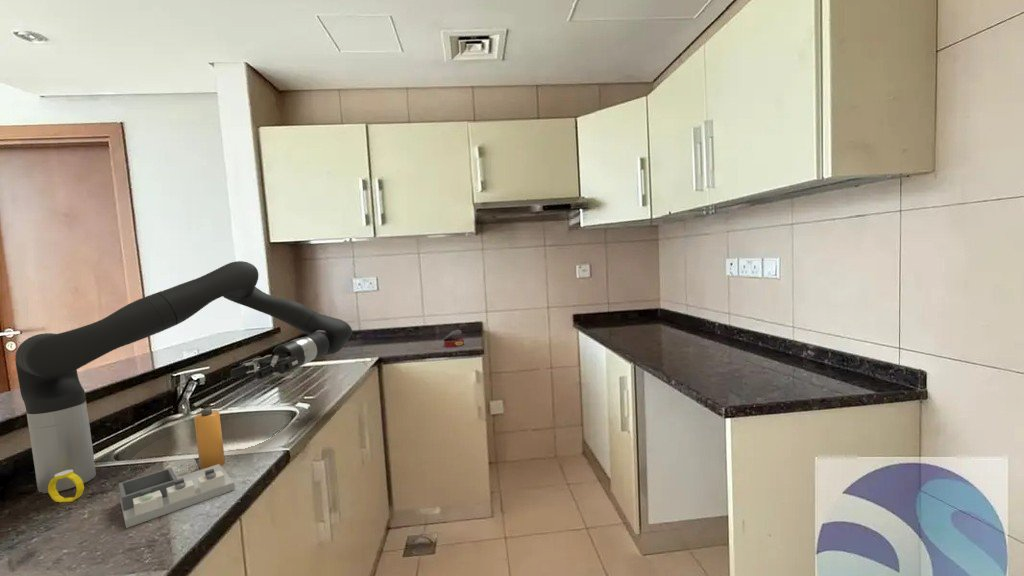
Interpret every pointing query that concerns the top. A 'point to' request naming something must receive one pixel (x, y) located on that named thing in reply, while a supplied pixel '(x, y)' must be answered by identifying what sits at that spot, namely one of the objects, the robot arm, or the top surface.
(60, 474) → the watch
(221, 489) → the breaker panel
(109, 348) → the robot arm
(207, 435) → the orange thermos flask
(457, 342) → the canned food
